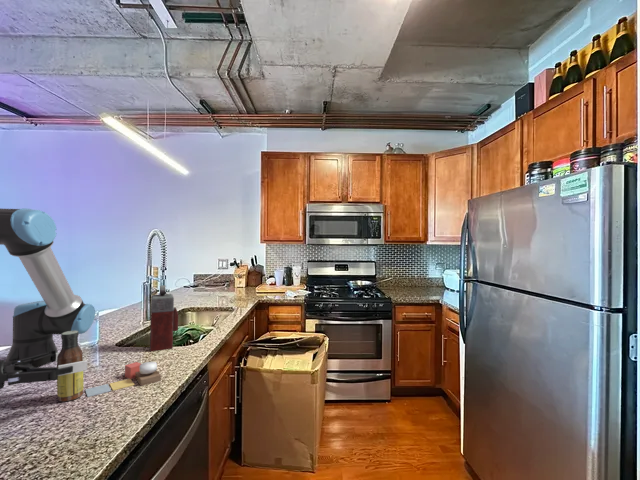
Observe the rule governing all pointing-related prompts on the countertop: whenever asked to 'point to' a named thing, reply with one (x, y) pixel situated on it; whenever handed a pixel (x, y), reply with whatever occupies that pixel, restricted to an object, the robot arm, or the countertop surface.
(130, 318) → the countertop surface
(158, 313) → the dark red rectangular canister
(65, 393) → the sauce bottle
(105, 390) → the square
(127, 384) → the square
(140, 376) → the brown flat block
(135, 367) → the die
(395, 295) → the countertop surface
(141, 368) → the dome
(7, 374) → the robot arm
